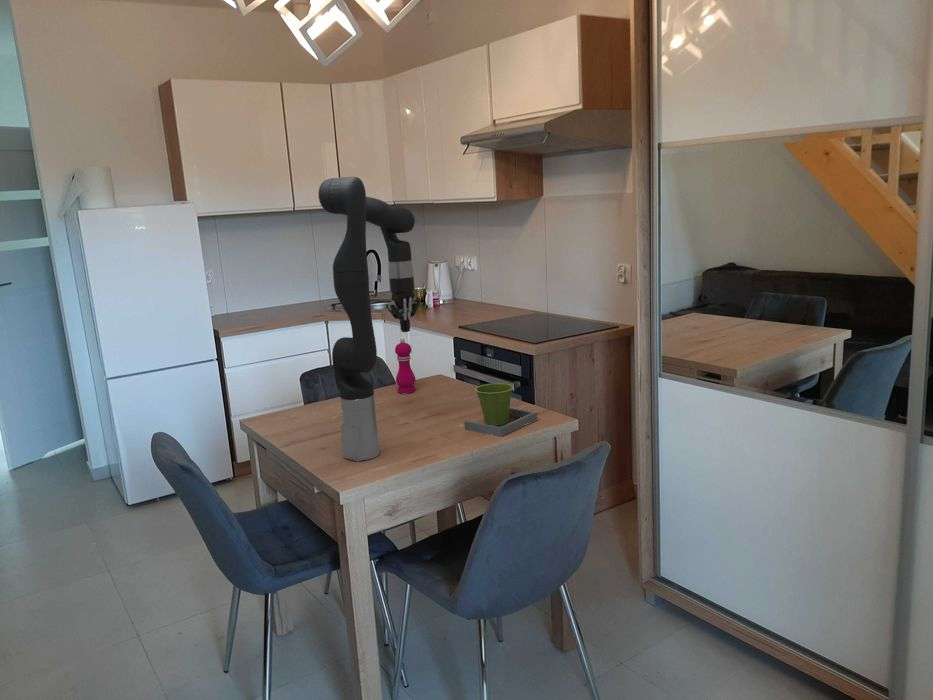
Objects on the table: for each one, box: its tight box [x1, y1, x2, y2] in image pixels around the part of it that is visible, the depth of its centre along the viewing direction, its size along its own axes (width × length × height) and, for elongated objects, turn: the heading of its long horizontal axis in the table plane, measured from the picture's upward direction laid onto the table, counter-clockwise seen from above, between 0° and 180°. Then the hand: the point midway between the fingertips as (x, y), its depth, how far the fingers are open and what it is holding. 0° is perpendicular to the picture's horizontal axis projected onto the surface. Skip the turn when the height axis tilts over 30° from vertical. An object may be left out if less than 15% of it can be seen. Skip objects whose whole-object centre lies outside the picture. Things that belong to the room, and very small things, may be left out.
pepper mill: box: [394, 338, 417, 394], centre depth 262 cm, size 7×7×20 cm
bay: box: [463, 407, 538, 437], centre depth 218 cm, size 18×14×2 cm
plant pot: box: [474, 382, 515, 426], centre depth 219 cm, size 12×12×11 cm
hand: (405, 331), depth 222 cm, fingers closed
